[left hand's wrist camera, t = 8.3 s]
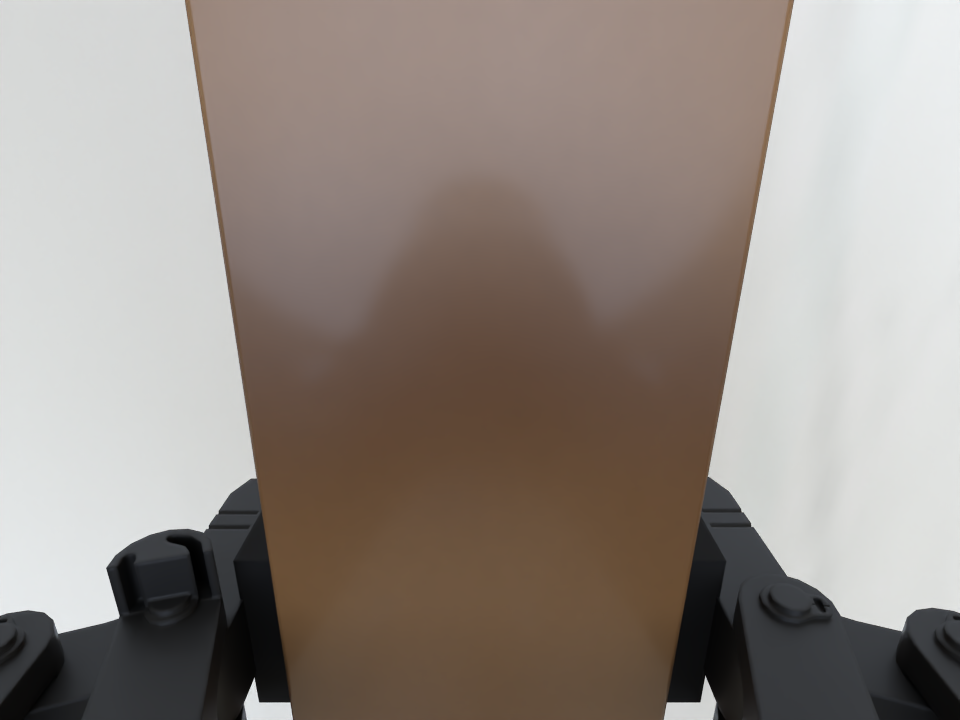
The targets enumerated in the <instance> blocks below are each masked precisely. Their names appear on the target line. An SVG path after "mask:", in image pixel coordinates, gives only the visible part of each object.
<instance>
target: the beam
mask: <svg viewBox="0 0 960 720" xmlns="http://www.w3.org/2000/svg"><path fill="white" fill-rule="evenodd" d="M793 3H794V0H185V4H186V10H187V17H188V24H189V30H190V37H191V44H192V50H193V57H194V64H195V70H196V77H197V84H198V90H199V97H200V104H201V110H202V117H203V124H204V130H205V137H206V143H207V150H208V157H209V163H210V170H211V177H212V183H213V190H214V197H215V203H216V210H217V217H218V223H219V230H220V237H221V243H222V250H223V257H224V263H225V270H226V276H227V283H228V290H229V296H230V303H231V310H232V316H233V323H234V330H235V336H236V343H237V350H238V356H239V363H240V370H241V376H242V383H243V390H244V396H245V403H246V410H247V416H248V423H249V429H250V436H251V443H252V449H253V456H254V463H255V469H256V476H257V483H258V489H259V496H260V503H261V509H262V516H263V523H264V529H265V536H266V543H267V549H268V556H269V562H270V569H271V576H272V582H273V589H274V596H275V602H276V609H277V616H278V622H279V629H280V636H281V642H282V649H283V656H284V662H285V669H286V676H287V682H288V689H289V695H290V702H291V709H292V715H293V720H664V715H665V709H666V704H667V698H668V692H669V687H670V681H671V676H672V670H673V665H674V659H675V654H676V648H677V643H678V637H679V632H680V626H681V621H682V615H683V610H684V604H685V599H686V593H687V588H688V582H689V577H690V571H691V566H692V560H693V555H694V549H695V543H696V538H697V532H698V527H699V521H700V516H701V510H702V505H703V499H704V494H705V488H706V483H707V477H708V472H709V466H710V461H711V455H712V450H713V444H714V439H715V433H716V428H717V422H718V417H719V411H720V405H721V400H722V394H723V389H724V383H725V378H726V372H727V367H728V361H729V356H730V350H731V345H732V339H733V334H734V328H735V323H736V317H737V312H738V306H739V301H740V295H741V290H742V284H743V279H744V273H745V268H746V262H747V256H748V251H749V245H750V240H751V234H752V229H753V223H754V218H755V212H756V207H757V201H758V196H759V190H760V185H761V179H762V174H763V168H764V163H765V157H766V152H767V146H768V141H769V135H770V130H771V124H772V118H773V113H774V107H775V102H776V96H777V91H778V85H779V80H780V74H781V69H782V63H783V58H784V52H785V47H786V41H787V36H788V30H789V25H790V19H791V14H792V8H793Z"/></svg>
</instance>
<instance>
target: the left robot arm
mask: <svg viewBox="0 0 960 720" xmlns="http://www.w3.org/2000/svg"><path fill="white" fill-rule="evenodd" d="M106 569H107V572H108V576H109V579H110V583H111V586H112V590H113V594H114V597H115V601H116V604H117V608H118V611H119V615H120V617H119V619H117V620H113V621H110V622H107V623H103V624H99V625H95V626H91V627H86V628H82V629H78V630H73V631H69V632H65V633H61V634H58V633H57V630H56V627H55V624H54V621H53V620H52V619H51V618H50V617H49V616H48V615H46V614H45V613H43V612H36V611H29V610H27V611H21V612H14V613H8V614H5V615H2V616H0V720H247V719H246V713H245V708H244V701H245V699H246V697H247V694H248V692H249V689H250V687H251V684H252V682H253V680H254V677H255V682H256V687H257V693H258V698H259V702H290V695H289V689H288V682H287V676H286V669H285V662H284V656H283V649H282V642H281V636H280V629H279V622H278V616H277V609H276V602H275V596H274V589H273V582H272V576H271V569H270V562H269V556H268V549H267V543H266V536H265V529H264V523H263V516H262V509H261V503H260V496H259V489H258V483H257V479H250V480H249V481H247V482H246V483H245V484H243V485H242V486H240V487H239V488H238V489H236V490H235V491H234V492H232V493H231V494H230V495H229V497H228V498H227V500H226V501H225V503H224V504H223V506H222V507H221V508H220V510H219V514H218V515H216V516H215V517H214V519H213V520H212V522H211V523H210V525H209V529H206V531H205V532H204V533H203V532H199V531H194V530H190V529H177V530H167V531H163V532H160V533H156V534H152V535H149V536H147V537H145V538H142V539H140V540H138V541H136V542H134V543H132V544H130V545H129V546H127V547H126V548H125V549H123V550H122V551H121V552H119V553H118V554H117V555H116V556H115V557H114V558H113V560H112V561H111V562H110V564H109V565H108V566H107V568H106ZM705 675H706V678H707V680H708V683H709V685H710V687H711V690H712V692H713V695H714V697H715V700H716V702H717V703H716V708H715V713H714V718H713V720H960V613H957V612H955V611H950V610H943V609H936V608H928V609H921V610H916V611H914V612H913V613H912V614H911V615H910V616H908V617H907V619H906V622H905V625H904V628H903V631H902V632H901V631H897V630H893V629H888V628H884V627H880V626H876V625H871V624H867V623H863V622H858V621H855V620H851V619H848V618H845V617H841V616H840V614H839V612H838V611H837V609H836V608H835V606H834V605H833V603H832V602H831V601H830V600H829V599H828V598H827V597H826V596H824V595H823V594H822V593H821V592H820V591H818V590H817V589H816V588H814V587H812V586H810V585H808V584H806V583H804V582H802V581H800V580H798V579H794V578H791V577H787V575H786V574H785V572H784V571H783V570H782V568H781V567H780V565H779V564H778V562H777V561H776V559H775V558H774V556H773V555H772V553H771V552H770V551H769V549H768V548H767V546H766V545H765V543H764V542H763V540H762V539H761V537H760V536H759V534H758V533H757V532H756V530H755V529H754V527H751V523H750V521H749V520H748V518H747V517H746V515H745V514H744V513H742V512H741V508H740V507H739V505H738V504H737V502H736V501H735V499H734V498H733V496H732V495H731V494H730V492H729V491H728V490H726V489H725V488H723V487H722V486H721V485H719V484H718V483H716V482H715V481H714V480H712V479H711V478H709V477H707V483H706V488H705V494H704V499H703V505H702V510H701V516H700V521H699V527H698V532H697V538H696V543H695V549H694V555H693V560H692V566H691V571H690V577H689V582H688V588H687V593H686V599H685V604H684V610H683V615H682V621H681V626H680V632H679V637H678V643H677V648H676V654H675V659H674V665H673V670H672V676H671V681H670V687H669V692H668V698H667V702H700V701H701V696H702V690H703V685H704V680H705Z"/></svg>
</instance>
